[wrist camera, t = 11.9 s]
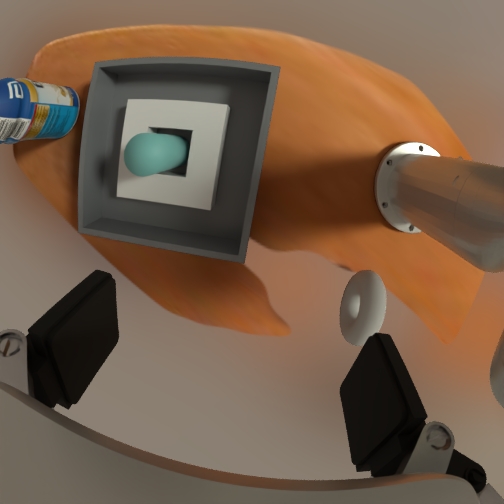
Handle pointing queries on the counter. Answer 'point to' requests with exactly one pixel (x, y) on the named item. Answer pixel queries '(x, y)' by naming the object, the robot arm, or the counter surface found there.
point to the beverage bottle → (35, 110)
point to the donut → (362, 307)
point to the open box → (200, 155)
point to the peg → (155, 153)
